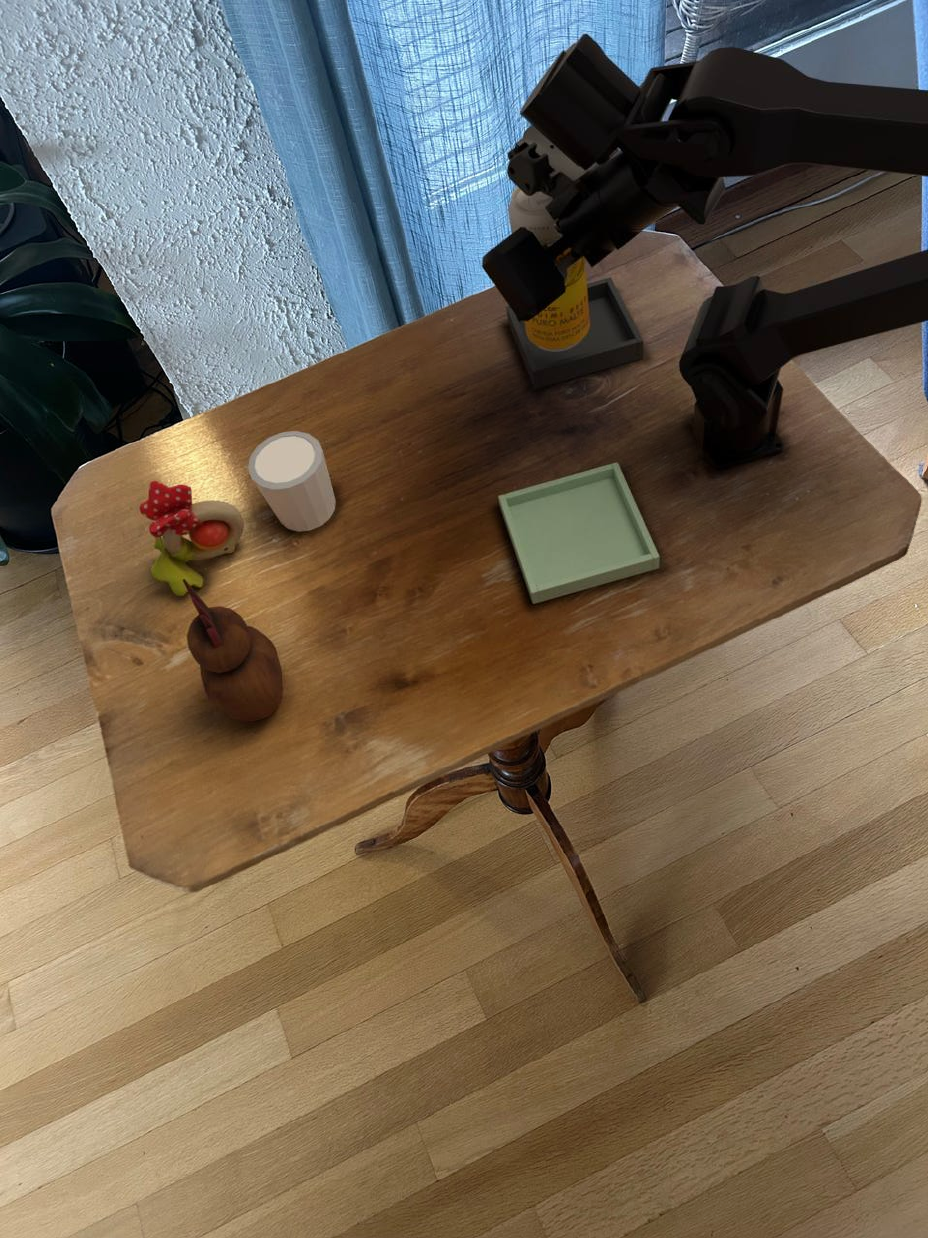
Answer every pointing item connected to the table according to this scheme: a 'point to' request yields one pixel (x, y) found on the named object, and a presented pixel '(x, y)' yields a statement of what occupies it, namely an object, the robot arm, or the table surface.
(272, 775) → the table surface
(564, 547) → the sage tray
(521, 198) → the beer can
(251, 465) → the white cup
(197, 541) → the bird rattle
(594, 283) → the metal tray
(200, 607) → the wooden figurine
